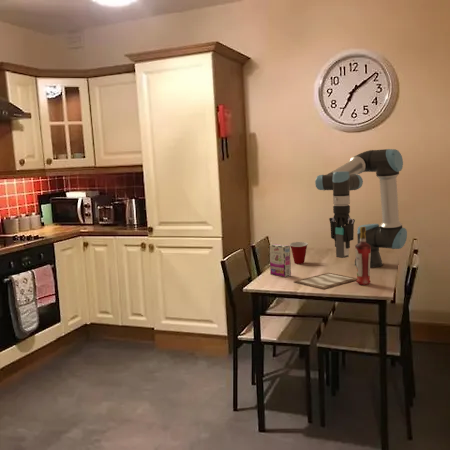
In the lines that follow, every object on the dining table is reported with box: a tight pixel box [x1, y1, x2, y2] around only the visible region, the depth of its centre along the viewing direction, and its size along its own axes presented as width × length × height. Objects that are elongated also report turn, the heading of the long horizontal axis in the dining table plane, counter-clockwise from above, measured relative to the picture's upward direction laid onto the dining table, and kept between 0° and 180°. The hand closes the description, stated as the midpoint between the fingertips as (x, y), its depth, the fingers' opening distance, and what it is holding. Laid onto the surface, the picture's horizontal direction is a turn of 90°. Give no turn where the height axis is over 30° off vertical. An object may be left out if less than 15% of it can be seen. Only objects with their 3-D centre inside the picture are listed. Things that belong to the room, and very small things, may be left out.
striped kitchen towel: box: [293, 272, 357, 290], centre depth 258 cm, size 26×20×1 cm
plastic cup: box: [289, 241, 309, 265], centre depth 303 cm, size 11×11×12 cm
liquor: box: [354, 227, 372, 286], centre depth 248 cm, size 7×7×28 cm
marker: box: [335, 226, 350, 259], centre depth 239 cm, size 4×4×14 cm
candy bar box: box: [269, 243, 292, 278], centre depth 275 cm, size 11×5×16 cm, turn 40°
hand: (342, 254), depth 240 cm, fingers closed on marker, 4 cm apart
